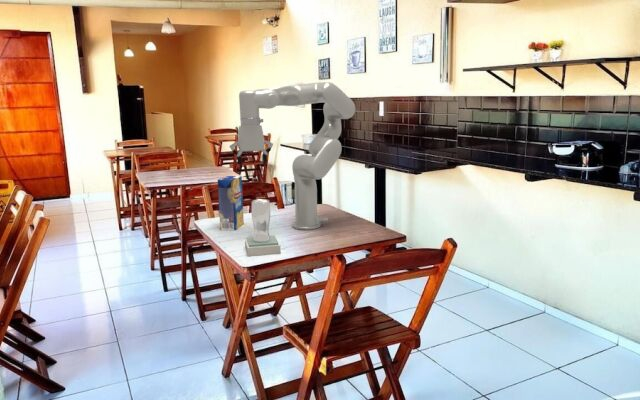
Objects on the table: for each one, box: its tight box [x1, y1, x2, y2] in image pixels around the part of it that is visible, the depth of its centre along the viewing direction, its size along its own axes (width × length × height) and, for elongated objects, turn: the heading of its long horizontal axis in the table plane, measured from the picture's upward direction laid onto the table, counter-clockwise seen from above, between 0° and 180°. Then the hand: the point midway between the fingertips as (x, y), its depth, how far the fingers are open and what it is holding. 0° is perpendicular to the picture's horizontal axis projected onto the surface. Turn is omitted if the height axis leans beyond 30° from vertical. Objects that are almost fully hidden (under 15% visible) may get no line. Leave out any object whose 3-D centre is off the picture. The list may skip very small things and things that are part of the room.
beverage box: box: [217, 175, 245, 231], centre depth 231 cm, size 7×11×22 cm, turn 168°
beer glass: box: [250, 198, 271, 242], centre depth 196 cm, size 7×7×15 cm
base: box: [244, 234, 282, 257], centre depth 198 cm, size 12×12×4 cm
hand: (252, 165), depth 212 cm, fingers open, 9 cm apart
